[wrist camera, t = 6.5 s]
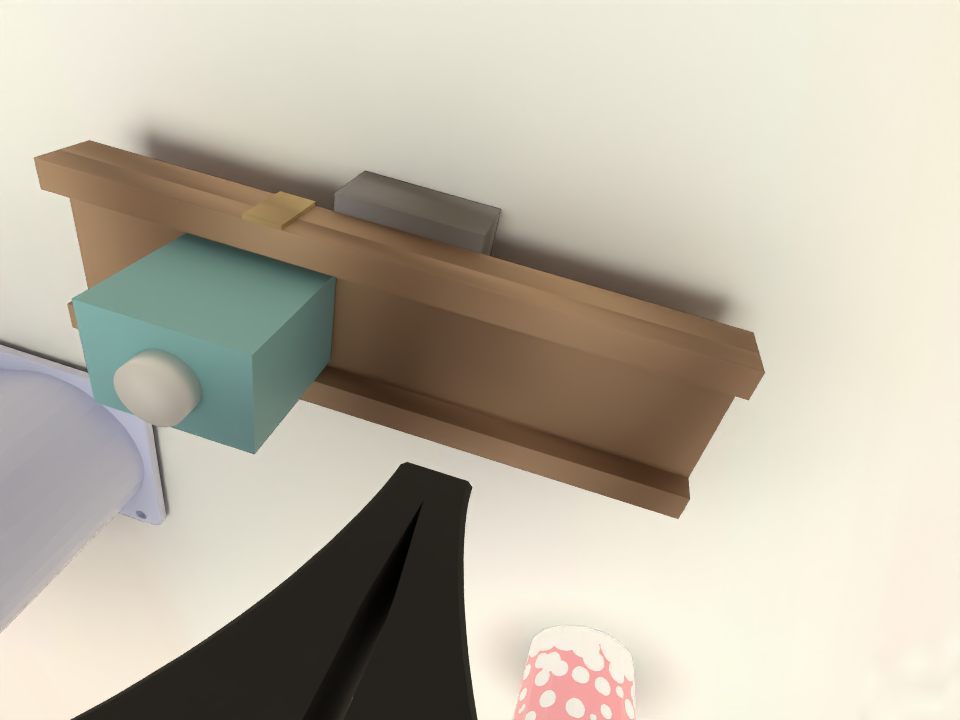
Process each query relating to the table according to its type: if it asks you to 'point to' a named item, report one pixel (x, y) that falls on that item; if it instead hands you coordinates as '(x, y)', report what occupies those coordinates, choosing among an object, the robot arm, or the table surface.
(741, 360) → the beam
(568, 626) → the beverage cup
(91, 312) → the rider
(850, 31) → the table surface
